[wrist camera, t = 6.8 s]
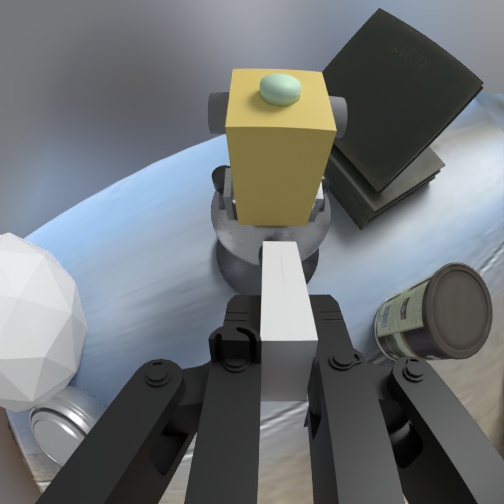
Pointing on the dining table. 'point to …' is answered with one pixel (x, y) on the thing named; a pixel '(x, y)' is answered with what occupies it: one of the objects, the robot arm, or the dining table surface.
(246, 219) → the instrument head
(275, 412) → the dining table surface
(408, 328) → the coffee can
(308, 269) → the stand
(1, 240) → the lamp
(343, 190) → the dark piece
